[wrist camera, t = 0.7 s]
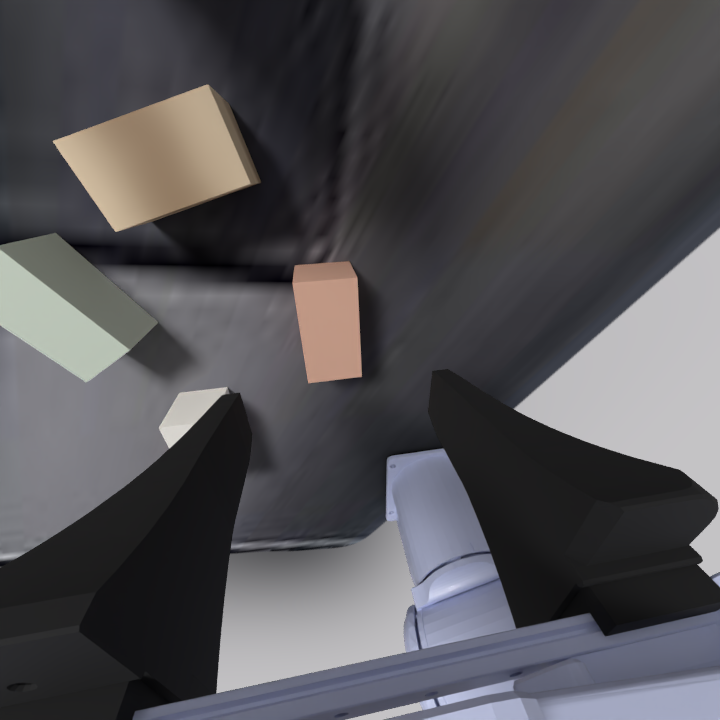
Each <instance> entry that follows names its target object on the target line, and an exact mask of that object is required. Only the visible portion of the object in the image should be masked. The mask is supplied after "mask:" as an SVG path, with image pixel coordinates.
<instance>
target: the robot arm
mask: <svg viewBox="0 0 720 720" xmlns="http://www.w3.org/2000/svg"><path fill="white" fill-rule="evenodd" d="M428 413H429V416H430V419H431V421H432V424H433V427H434V430H435V432H436V435H437V437H438V439H439V441H440V442H441V444H442V446H443V448H442V449H435V450H428V451H421V452H414V453H407V454H400V455H393V456H390V457H388V458H387V473H386V519H387V521H394V520H397V524H398V528H399V532H400V535H401V539H402V543H403V547H404V550H405V555H406V558H407V562H408V566H409V570H410V574H411V577H412V580H413V582H414V585H415V586H416V587H413V588H412V589H411V591H412V595H413V599H414V602H415V605H412V606H410V607H409V608H408V610H407V614H406V619H405V622H404V642H405V649H406V653H402V654H397V655H392V656H388V657H383V658H379V659H374V660H369V661H365V662H361V663H355V664H351V665H346V666H342V667H337V668H332V669H328V670H323V671H318V672H314V673H309V674H305V675H300V676H296V677H291V678H286V679H282V680H277V681H272V682H268V683H263V684H258V685H254V686H249V687H244V688H240V689H235V690H231V691H226V692H221V693H217V694H216V690H217V675H218V662H219V650H220V637H221V627H222V616H223V606H224V596H225V588H226V580H227V571H228V563H229V555H230V549H231V541H232V534H233V529H234V524H235V519H236V515H237V511H238V507H239V502H240V498H241V494H242V490H243V486H244V482H245V478H246V473H247V469H248V465H249V460H250V452H251V442H252V432H251V429H250V425H249V422H248V419H247V415H246V412H245V409H244V405H243V402H242V399H241V395H240V393H234V394H225V395H222V396H221V397H220V398H219V399H218V400H217V401H216V402H215V403H214V404H213V405H212V406H211V407H210V408H209V409H208V410H207V411H206V412H205V413H204V415H203V416H202V417H201V418H200V419H199V420H198V421H197V422H196V423H195V424H194V425H193V426H192V427H191V428H190V429H189V430H188V431H187V432H186V433H185V434H184V435H183V436H182V437H181V438H180V439H179V440H178V441H177V442H176V443H175V444H174V445H173V446H172V447H171V448H170V449H169V450H167V451H166V452H165V453H164V454H163V455H162V456H161V457H160V458H159V459H158V460H157V461H156V462H154V463H153V464H152V465H151V466H150V467H149V468H147V469H146V470H145V471H144V472H143V473H141V474H140V475H139V476H138V477H136V478H135V479H134V480H133V481H131V482H130V483H129V484H128V485H126V486H125V487H124V488H122V489H121V490H120V491H118V492H117V493H116V494H114V495H113V496H111V497H110V498H109V499H107V500H106V501H105V502H103V503H102V504H100V505H99V506H98V507H96V508H95V509H94V510H92V511H91V512H89V513H88V514H86V515H85V516H84V517H82V518H81V519H79V520H77V521H76V522H74V523H73V524H71V525H70V526H68V527H67V528H65V529H64V530H62V531H61V532H59V533H58V534H56V535H54V536H53V537H51V538H50V539H48V540H47V541H45V542H43V543H42V544H40V545H38V546H37V547H35V548H34V549H32V550H30V551H29V552H27V553H25V554H24V555H22V556H20V557H18V558H17V559H15V560H13V561H11V562H10V563H8V564H6V565H5V566H3V567H1V568H0V720H345V719H349V718H354V717H358V716H362V715H366V714H371V713H375V712H379V711H383V710H388V709H392V708H396V707H400V706H405V705H409V704H413V703H417V702H420V705H421V707H422V711H418V712H414V713H410V714H405V715H401V716H397V717H393V718H389V719H384V720H720V572H719V573H717V574H714V575H712V576H711V577H709V576H708V575H707V574H706V573H705V572H704V571H703V570H702V569H701V568H700V567H699V566H698V565H697V564H699V563H701V562H702V561H703V560H702V557H701V556H700V555H699V554H698V553H697V552H696V551H695V550H694V549H693V548H692V547H691V546H689V544H690V543H691V542H692V541H693V540H694V539H695V538H696V537H697V536H698V535H699V534H700V533H701V532H702V531H703V530H704V529H705V528H706V527H707V526H708V525H709V524H710V523H711V521H712V520H713V519H714V518H715V516H716V514H717V512H718V502H717V499H715V497H713V496H712V495H711V494H710V493H708V492H707V491H705V489H703V488H702V487H701V486H700V485H698V484H697V483H696V482H695V481H693V480H692V479H691V478H690V477H688V476H687V475H686V474H685V473H683V472H682V471H680V470H678V469H674V468H671V467H666V466H663V465H659V464H656V463H652V462H649V461H644V460H641V459H637V458H634V457H630V456H627V455H624V454H620V453H617V452H614V451H611V450H608V449H605V448H602V447H599V446H596V445H594V444H591V443H588V442H585V441H582V440H580V439H577V438H575V437H572V436H570V435H567V434H565V433H562V432H560V431H557V430H555V429H553V428H550V427H548V426H546V425H544V424H542V423H539V422H537V421H535V420H533V419H531V418H529V417H527V416H525V415H523V414H521V413H519V412H517V411H516V410H514V409H512V408H510V407H508V406H507V405H505V404H503V403H501V402H500V401H498V400H496V399H495V398H493V397H491V396H490V395H488V394H486V393H485V392H483V391H482V390H480V389H478V388H477V387H475V386H474V385H472V384H471V383H469V382H468V381H466V380H464V379H463V378H461V377H460V376H458V375H457V374H455V373H453V372H452V371H450V370H448V369H445V370H437V371H432V380H431V390H430V399H429V408H428Z"/></svg>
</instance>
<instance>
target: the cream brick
mask: <svg viewBox="0 0 720 720" xmlns="http://www.w3.org/2000/svg"><path fill="white" fill-rule="evenodd" d="M225 394H230V393H229V390H228V387H225V388H217V389H208V390H200V391H191V392H182V393H179V394H178V396H177V398H176V399H175V401H174V403H173V405H172V406H171V408H170V410H169V411H168V413H167V415H166V416H165V418H164V420H163V422H162V423H161V425H160V427H159V430H160V432H161V434H162V435H163V437H164V439H165V441H166V443H167V445H168V447H169V449H170V448H171V447H172V446H173V445H174V444H175V443H176V442H177V441H178V440H179V439H180V438H181V437H182V436H183V435H184V434H185V433H186V432H187V431H188V430H189V429H190V428H191V427H192V426H193V425H194V424H195V423H196V422H197V421H198V420H199V419H200V418H201V417H202V416H203V415H204V413H205V412H206V411H207V410H208V409H209V408H210V407H211V406H212V405H213V404H214V403H215V402H216V401H217V400H218V399H219V398H220V397H221V396H222V395H225Z"/></svg>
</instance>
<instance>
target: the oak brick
mask: <svg viewBox="0 0 720 720" xmlns="http://www.w3.org/2000/svg"><path fill="white" fill-rule="evenodd" d="M53 143H54V144H55V145H56V147H57V148H58V150H59V151H60V153H61V154H62V155H63V157H64V158H65V160H66V161H67V163H68V164H69V166H70V167H71V168H72V170H73V171H74V173H75V174H76V176H77V177H78V178H79V180H80V181H81V183H82V184H83V186H84V187H85V189H86V190H87V191H88V193H89V194H90V196H91V197H92V199H93V200H94V202H95V203H96V204H97V206H98V207H99V209H100V210H101V212H102V213H103V214H104V216H105V217H106V219H107V220H108V222H109V223H110V225H111V226H112V227H113V229H114V230H115V232H118V231H121V230H124V229H128V228H131V227H135V226H138V225H142V224H145V223H149V222H152V221H155V220H158V219H161V218H163V217H166V216H169V215H172V214H175V213H177V212H180V211H183V210H186V209H189V208H191V207H194V206H197V205H200V204H203V203H205V202H208V201H211V200H214V199H217V198H219V197H222V196H225V195H228V194H231V193H233V192H236V191H239V190H242V189H245V188H247V187H250V186H253V185H256V184H259V183H261V180H260V178H259V176H258V173H257V171H256V168H255V166H254V163H253V161H252V159H251V156H250V154H249V151H248V149H247V146H246V144H245V142H244V139H243V137H242V134H241V132H240V129H239V127H238V125H237V122H236V120H235V117H234V115H233V112H232V110H231V108H230V105H229V104H228V103H227V102H226V101H225V100H224V99H223V98H222V97H221V96H220V95H219V94H218V93H217V92H216V91H215V90H214V89H213V88H211V87H210V86H209V85H208V84H207V85H205V86H202V87H199V88H196V89H194V90H191V91H188V92H186V93H183V94H180V95H177V96H175V97H172V98H169V99H167V100H164V101H161V102H158V103H156V104H153V105H150V106H148V107H145V108H142V109H139V110H137V111H134V112H131V113H129V114H126V115H123V116H120V117H118V118H115V119H112V120H110V121H107V122H104V123H101V124H99V125H96V126H93V127H91V128H88V129H85V130H82V131H80V132H77V133H74V134H72V135H69V136H66V137H63V138H61V139H58V140H55V141H53Z"/></svg>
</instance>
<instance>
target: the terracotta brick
mask: <svg viewBox="0 0 720 720" xmlns="http://www.w3.org/2000/svg"><path fill="white" fill-rule="evenodd" d="M293 289H294V296H295V302H296V308H297V315H298V321H299V327H300V334H301V340H302V346H303V353H304V359H305V365H306V372H307V378H308V383H314V382H322V381H331V380H339V379H348V378H356V377H362V368H361V345H360V323H359V300H358V278H357V276H356V274H355V272H354V270H353V268H352V266H351V264H350V262H349V261H346V262H333V263H320V264H307V265H295V268H294V276H293Z"/></svg>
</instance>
